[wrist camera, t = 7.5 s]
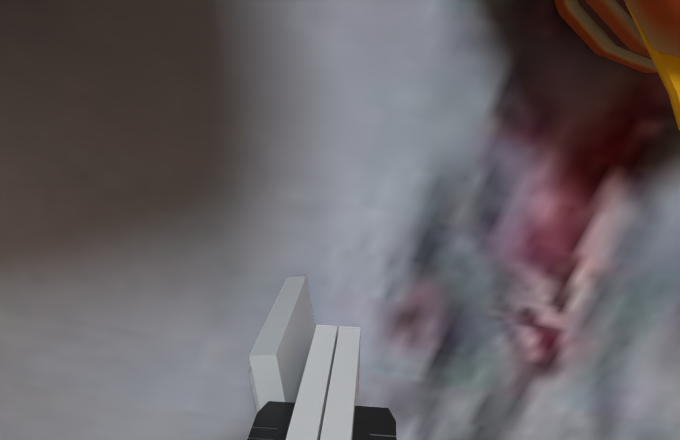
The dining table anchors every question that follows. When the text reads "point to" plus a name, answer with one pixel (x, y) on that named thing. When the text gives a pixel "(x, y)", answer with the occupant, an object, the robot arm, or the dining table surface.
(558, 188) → the dining table surface
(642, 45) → the hamburger
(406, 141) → the dining table surface
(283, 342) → the side door
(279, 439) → the robot arm
